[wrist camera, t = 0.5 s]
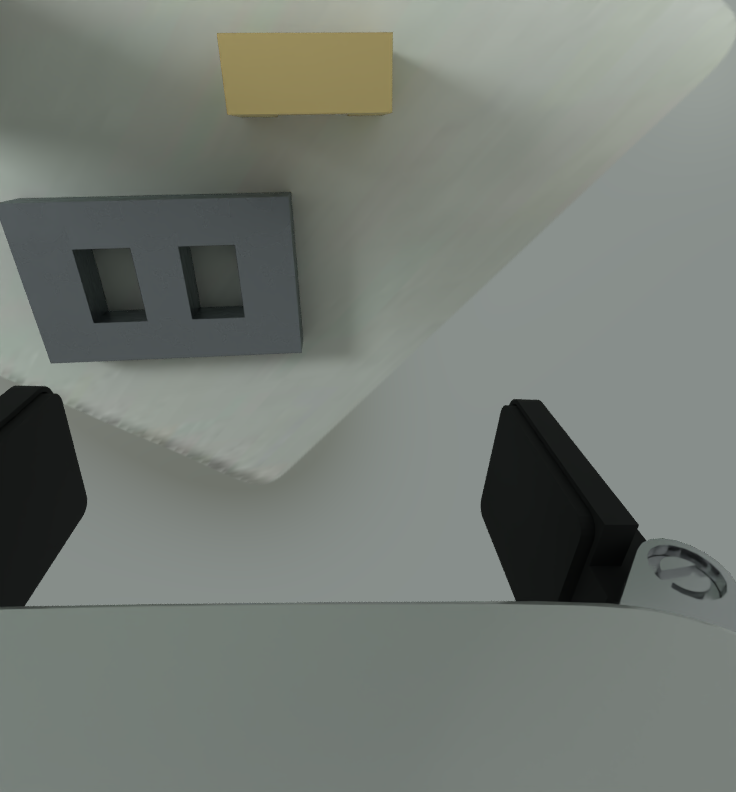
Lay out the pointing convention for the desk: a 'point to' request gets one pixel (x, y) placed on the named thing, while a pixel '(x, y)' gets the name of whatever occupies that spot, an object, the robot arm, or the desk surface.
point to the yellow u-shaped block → (306, 73)
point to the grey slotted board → (157, 274)
